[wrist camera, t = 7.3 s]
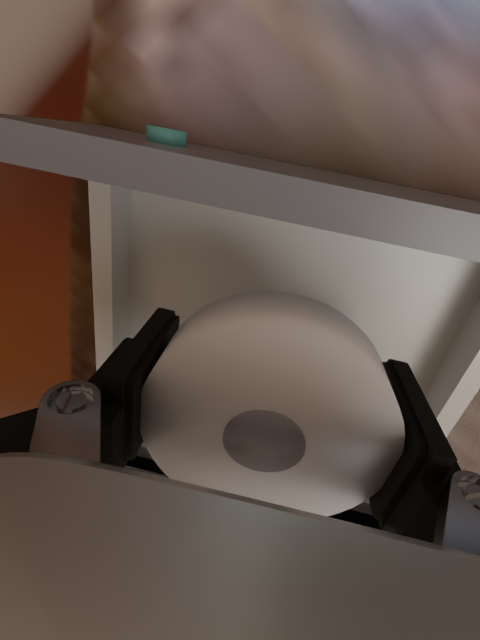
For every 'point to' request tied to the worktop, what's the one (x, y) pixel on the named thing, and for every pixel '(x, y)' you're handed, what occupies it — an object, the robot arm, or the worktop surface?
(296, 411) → the disc
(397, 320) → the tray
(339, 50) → the worktop surface
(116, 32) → the worktop surface
